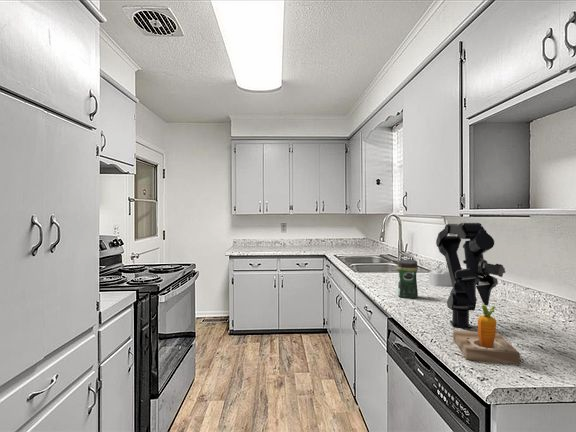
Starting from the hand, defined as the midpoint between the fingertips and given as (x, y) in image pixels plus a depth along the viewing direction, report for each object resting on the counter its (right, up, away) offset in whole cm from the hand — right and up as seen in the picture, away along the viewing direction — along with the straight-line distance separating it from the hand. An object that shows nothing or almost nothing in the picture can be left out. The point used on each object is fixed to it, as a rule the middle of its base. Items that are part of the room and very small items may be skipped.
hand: (480, 303), depth 126 cm
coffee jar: (-4, -12, +65) cm, 66 cm away
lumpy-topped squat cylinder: (+27, -11, +97) cm, 101 cm away
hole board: (-3, -13, -8) cm, 15 cm away
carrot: (-4, -13, -11) cm, 17 cm away
